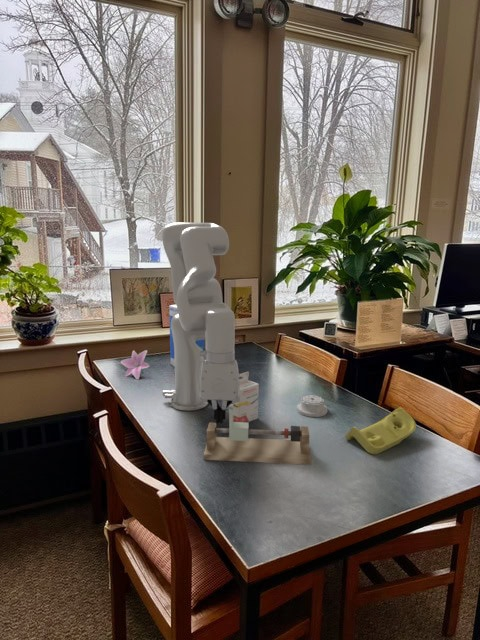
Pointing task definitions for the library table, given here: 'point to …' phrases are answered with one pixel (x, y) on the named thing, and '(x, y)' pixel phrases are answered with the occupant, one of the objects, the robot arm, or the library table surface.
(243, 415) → the ink cartridge box
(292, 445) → the lead screw slide
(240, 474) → the library table surface
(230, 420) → the pale green slide carriage
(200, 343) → the string lights box
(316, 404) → the mechanical component
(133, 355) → the lily
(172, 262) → the robot arm
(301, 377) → the library table surface
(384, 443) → the plastic component
